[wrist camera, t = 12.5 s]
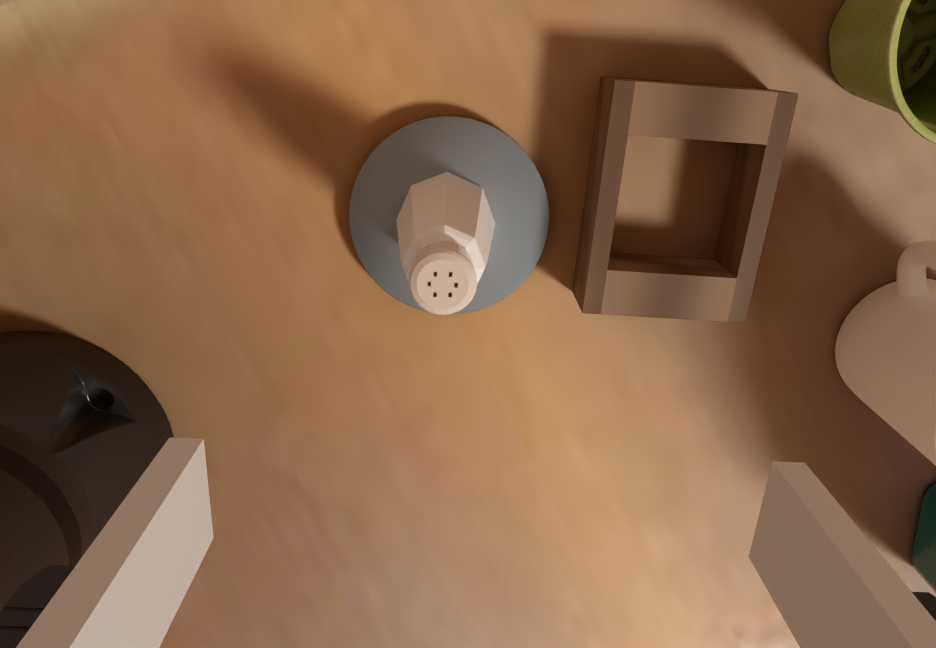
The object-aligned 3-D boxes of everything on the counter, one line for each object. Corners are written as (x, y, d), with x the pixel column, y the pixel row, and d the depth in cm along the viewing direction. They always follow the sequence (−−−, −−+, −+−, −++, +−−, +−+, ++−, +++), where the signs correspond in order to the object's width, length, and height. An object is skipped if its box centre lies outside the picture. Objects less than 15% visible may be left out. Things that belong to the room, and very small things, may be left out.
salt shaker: (497, 173, 38) (513, 221, 28) (492, 269, 40) (505, 348, 30) (396, 169, 38) (374, 216, 27) (396, 266, 40) (376, 344, 29)
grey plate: (350, 302, 42) (348, 308, 41) (352, 108, 37) (349, 109, 37) (536, 313, 42) (537, 319, 41) (557, 122, 38) (560, 125, 37)
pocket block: (572, 291, 41) (582, 312, 38) (601, 76, 37) (615, 80, 34) (722, 301, 42) (745, 322, 39) (768, 89, 37) (798, 93, 34)
